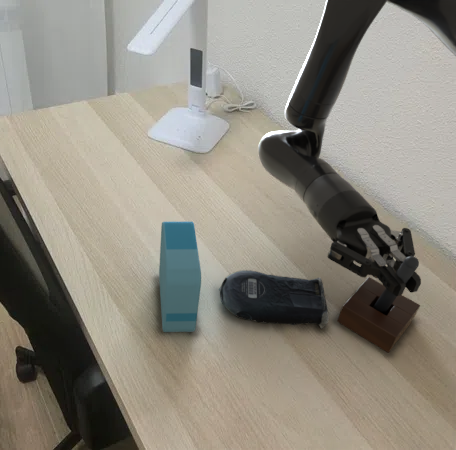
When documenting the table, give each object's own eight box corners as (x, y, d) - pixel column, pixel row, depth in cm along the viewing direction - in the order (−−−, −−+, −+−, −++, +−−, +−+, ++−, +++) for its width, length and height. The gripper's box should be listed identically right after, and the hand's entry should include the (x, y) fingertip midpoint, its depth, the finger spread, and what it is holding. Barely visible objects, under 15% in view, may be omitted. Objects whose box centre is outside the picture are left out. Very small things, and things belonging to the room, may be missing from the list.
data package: (194, 336, 77) (202, 277, 70) (162, 337, 77) (166, 277, 69) (187, 275, 87) (193, 216, 79) (158, 275, 86) (161, 216, 78)
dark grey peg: (373, 306, 81) (410, 251, 71) (384, 314, 80) (423, 258, 70) (367, 314, 80) (404, 258, 70) (378, 321, 79) (417, 266, 69)
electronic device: (312, 289, 87) (219, 272, 86) (325, 269, 83) (228, 250, 82) (316, 341, 81) (217, 323, 80) (331, 322, 77) (226, 302, 76)
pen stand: (362, 292, 85) (368, 276, 83) (412, 320, 81) (420, 304, 79) (336, 321, 80) (342, 305, 78) (388, 353, 76) (396, 337, 74)
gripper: (304, 196, 80) (372, 280, 68) (384, 182, 84) (463, 259, 71) (293, 234, 85) (356, 319, 73) (370, 219, 89) (442, 298, 76)
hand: (409, 289), depth 72 cm, fingers closed on dark grey peg, 2 cm apart
